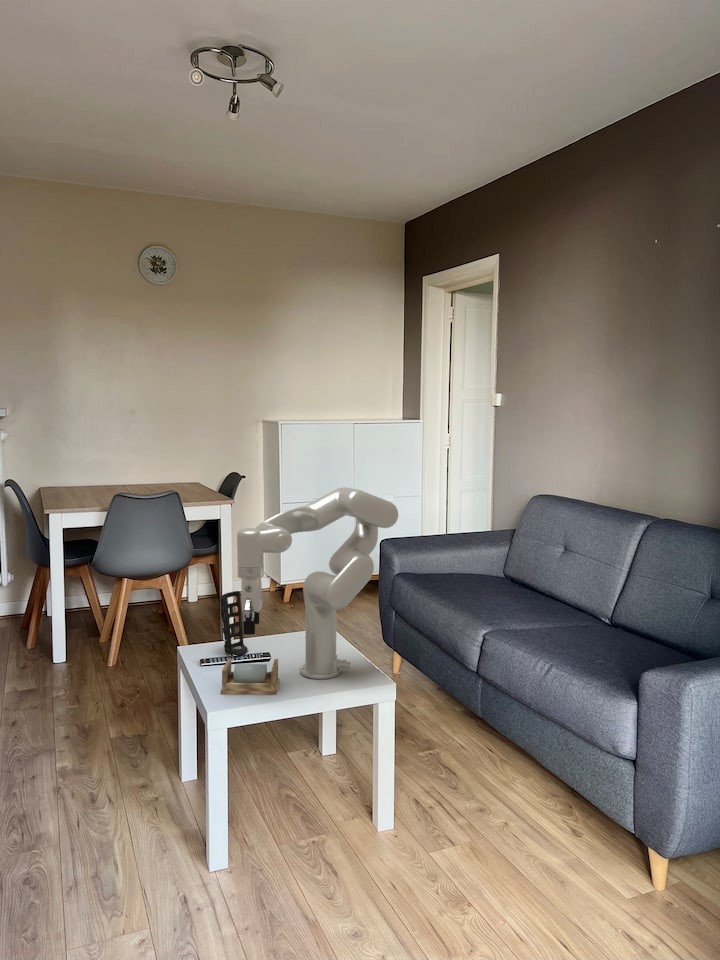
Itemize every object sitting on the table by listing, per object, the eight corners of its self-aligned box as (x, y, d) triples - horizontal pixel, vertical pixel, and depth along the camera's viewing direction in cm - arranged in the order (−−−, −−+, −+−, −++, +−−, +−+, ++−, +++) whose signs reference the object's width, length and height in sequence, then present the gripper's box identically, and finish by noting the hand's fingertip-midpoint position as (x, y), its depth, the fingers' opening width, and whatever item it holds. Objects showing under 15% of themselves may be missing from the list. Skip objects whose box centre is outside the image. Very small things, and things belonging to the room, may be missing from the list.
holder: (243, 657, 237) (237, 597, 235) (220, 658, 238) (214, 599, 236) (250, 647, 248) (244, 589, 246) (228, 648, 248) (223, 591, 247)
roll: (268, 680, 215) (267, 660, 214) (265, 688, 209) (265, 669, 208) (236, 679, 215) (235, 660, 214) (232, 688, 209) (232, 668, 208)
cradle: (279, 681, 217) (279, 659, 217) (276, 694, 207) (276, 671, 207) (226, 681, 217) (226, 658, 216) (220, 694, 207) (220, 670, 206)
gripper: (260, 578, 200) (260, 638, 202) (267, 564, 218) (267, 620, 219) (232, 578, 200) (233, 638, 202) (242, 564, 217) (243, 620, 219)
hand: (251, 628), depth 211 cm, fingers open, 9 cm apart
